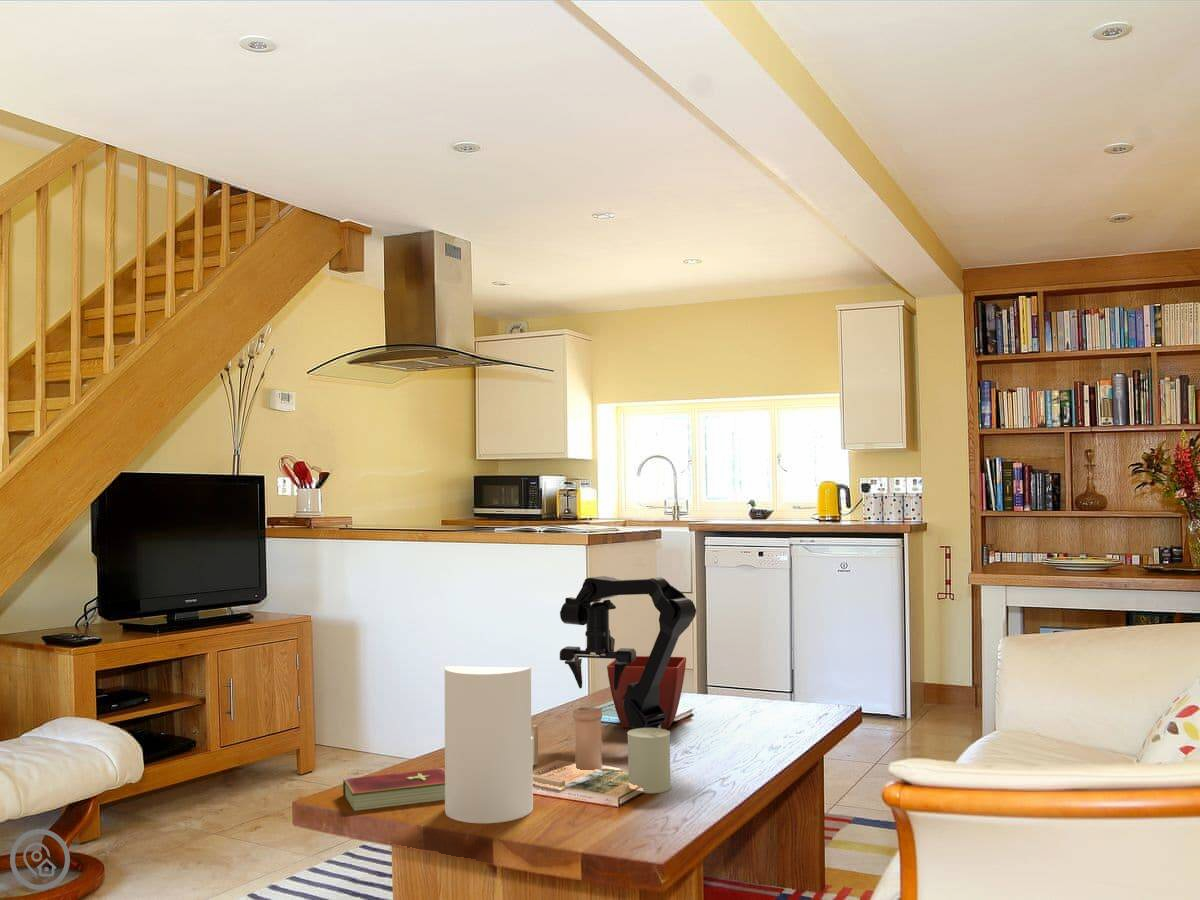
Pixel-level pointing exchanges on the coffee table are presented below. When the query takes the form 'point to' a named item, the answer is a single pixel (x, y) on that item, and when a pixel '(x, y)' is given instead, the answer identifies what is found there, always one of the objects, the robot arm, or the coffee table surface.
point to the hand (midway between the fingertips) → (598, 689)
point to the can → (649, 759)
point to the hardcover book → (395, 789)
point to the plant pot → (667, 687)
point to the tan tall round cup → (588, 738)
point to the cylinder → (488, 744)
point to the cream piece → (535, 762)
